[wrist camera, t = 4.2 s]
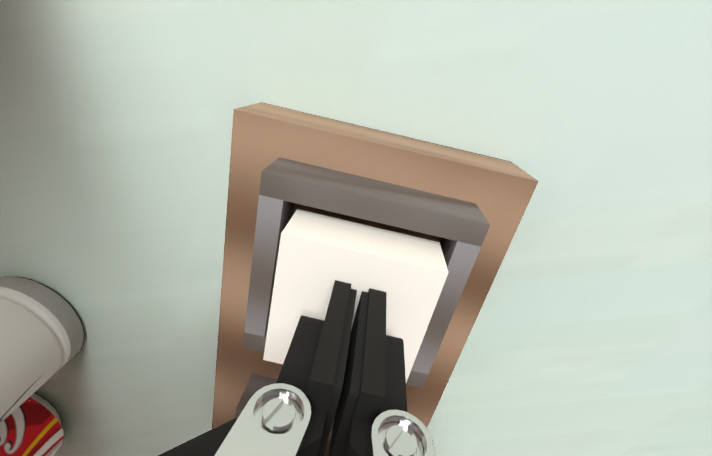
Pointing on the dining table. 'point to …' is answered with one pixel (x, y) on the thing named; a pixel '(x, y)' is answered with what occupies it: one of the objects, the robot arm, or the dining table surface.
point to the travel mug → (32, 339)
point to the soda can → (31, 429)
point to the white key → (353, 278)
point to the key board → (365, 206)
